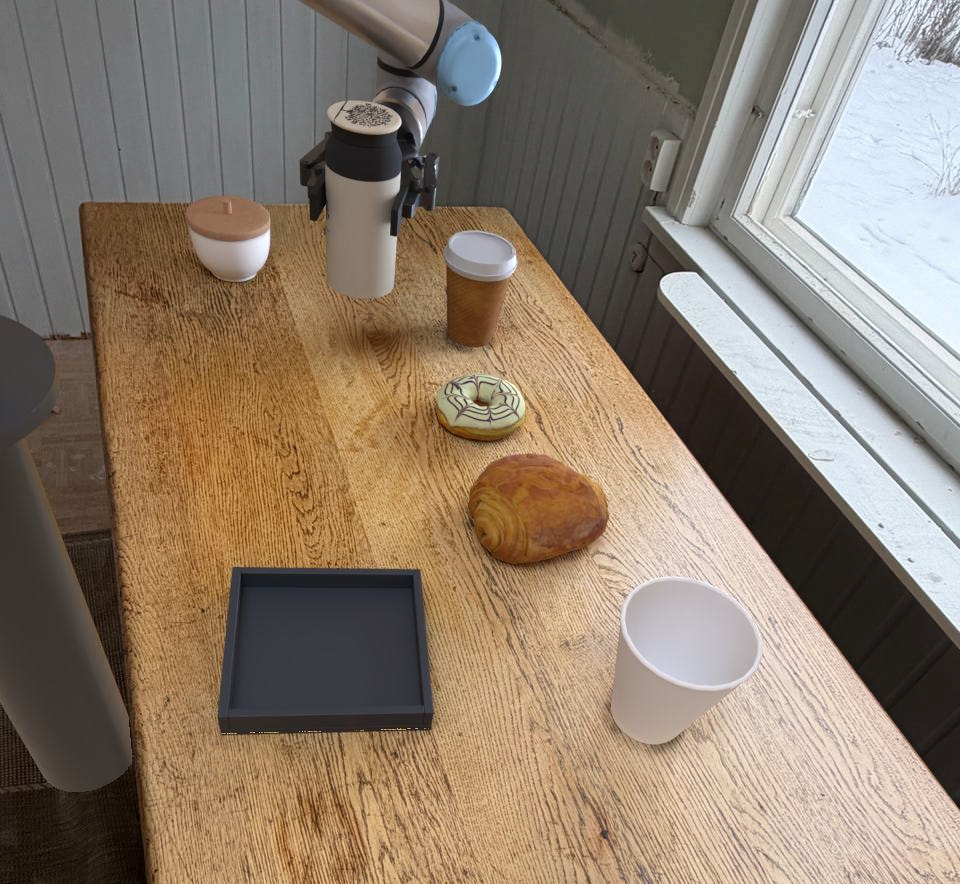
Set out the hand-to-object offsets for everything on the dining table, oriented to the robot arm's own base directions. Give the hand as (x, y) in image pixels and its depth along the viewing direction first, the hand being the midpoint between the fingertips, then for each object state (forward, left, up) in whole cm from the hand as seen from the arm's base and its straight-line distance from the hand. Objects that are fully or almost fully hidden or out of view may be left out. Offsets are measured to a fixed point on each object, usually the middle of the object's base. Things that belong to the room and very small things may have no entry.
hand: (353, 215), depth 85 cm
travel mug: (+1, +5, -10) cm, 11 cm away
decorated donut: (+15, -7, -20) cm, 26 cm away
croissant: (+19, -25, -20) cm, 38 cm away
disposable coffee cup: (+16, +12, -20) cm, 28 cm away
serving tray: (-3, -43, -20) cm, 48 cm away
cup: (+26, -50, -20) cm, 60 cm away
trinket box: (-16, +24, -20) cm, 35 cm away
